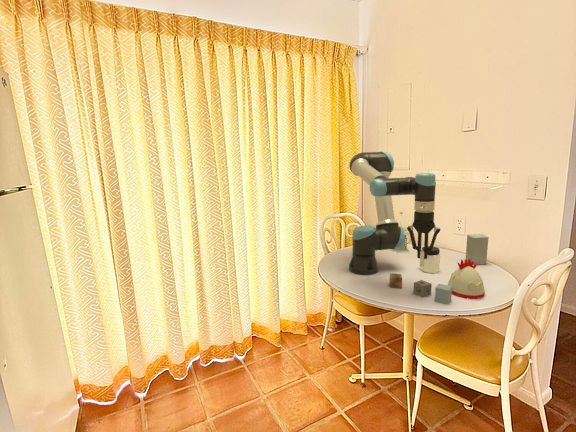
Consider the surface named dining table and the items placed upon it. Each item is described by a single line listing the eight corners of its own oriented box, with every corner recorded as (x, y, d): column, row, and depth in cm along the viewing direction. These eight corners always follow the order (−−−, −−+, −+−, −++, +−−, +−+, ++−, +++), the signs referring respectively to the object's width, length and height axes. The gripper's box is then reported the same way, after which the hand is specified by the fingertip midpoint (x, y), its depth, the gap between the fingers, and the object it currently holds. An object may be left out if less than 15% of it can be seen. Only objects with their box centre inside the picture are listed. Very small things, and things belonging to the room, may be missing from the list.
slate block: (434, 301, 123) (435, 287, 122) (438, 296, 127) (438, 283, 126) (448, 304, 120) (449, 290, 119) (451, 300, 124) (452, 286, 123)
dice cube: (420, 290, 134) (421, 279, 133) (431, 294, 129) (431, 283, 128) (413, 293, 131) (413, 282, 130) (423, 297, 127) (423, 286, 126)
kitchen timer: (441, 286, 137) (442, 254, 134) (469, 284, 138) (472, 253, 135) (460, 300, 124) (462, 265, 121) (492, 298, 124) (495, 263, 122)
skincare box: (480, 260, 168) (482, 233, 165) (487, 265, 161) (489, 236, 158) (464, 260, 169) (466, 233, 166) (470, 265, 162) (472, 236, 159)
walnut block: (390, 287, 138) (390, 277, 137) (389, 283, 143) (389, 273, 142) (401, 288, 136) (402, 278, 136) (400, 284, 141) (401, 274, 140)
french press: (397, 247, 199) (398, 209, 194) (413, 250, 190) (415, 211, 186) (388, 250, 193) (389, 211, 188) (405, 254, 184) (407, 214, 179)
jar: (432, 274, 151) (433, 251, 149) (417, 270, 157) (418, 248, 155) (442, 270, 156) (443, 248, 153) (427, 266, 162) (428, 245, 160)
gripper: (405, 211, 124) (404, 266, 128) (441, 213, 118) (438, 270, 122) (408, 209, 130) (407, 261, 134) (442, 210, 124) (439, 265, 128)
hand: (421, 265), depth 128 cm, fingers closed
